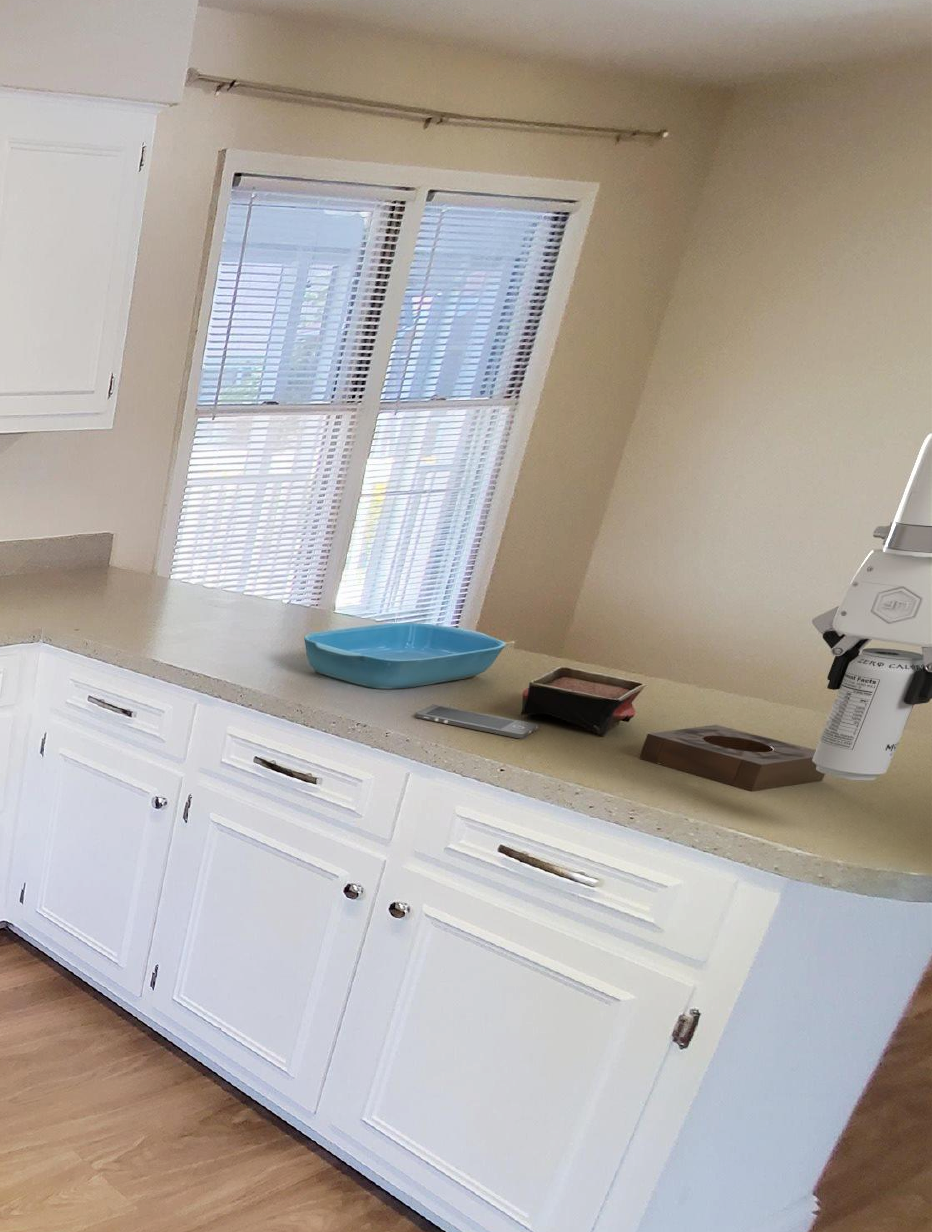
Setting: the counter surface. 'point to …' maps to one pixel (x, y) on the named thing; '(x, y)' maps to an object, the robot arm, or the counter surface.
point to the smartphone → (477, 721)
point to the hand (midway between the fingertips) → (877, 694)
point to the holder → (732, 757)
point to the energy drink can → (868, 714)
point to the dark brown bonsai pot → (582, 698)
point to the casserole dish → (401, 654)
